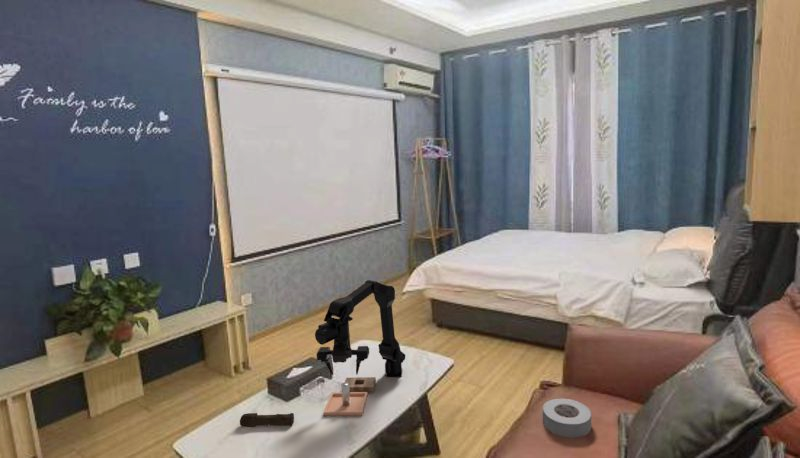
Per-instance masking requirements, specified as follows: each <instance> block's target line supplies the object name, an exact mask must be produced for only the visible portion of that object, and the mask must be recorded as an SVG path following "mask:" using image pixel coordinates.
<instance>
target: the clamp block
mask: <svg viewBox="0 0 800 458" xmlns="http://www.w3.org/2000/svg"><path fill="white" fill-rule="evenodd" d="M344 382H347V383H349V389H350V392H367V393H368V394H374V391H375V388H376V384H377V383H376V382H377V381H376V376H374V377H372V376H370V377H369V376H368V377H367V376H365V377H359V376H357V377H345V379H344Z"/></svg>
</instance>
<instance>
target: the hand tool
mask: <svg viewBox="0 0 800 458" xmlns="http://www.w3.org/2000/svg"><path fill="white" fill-rule="evenodd" d="M294 422H295V413H293V412H289V413H276V414H258V413H257V412H253V413H247V412H246V413H244V414H242V415H241V417H240V418H239V425H240V426H241V427H245V428H256V427H258V426H259V427H260V426H287V425H289V426H291V427H292V426H293V425H294Z"/></svg>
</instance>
